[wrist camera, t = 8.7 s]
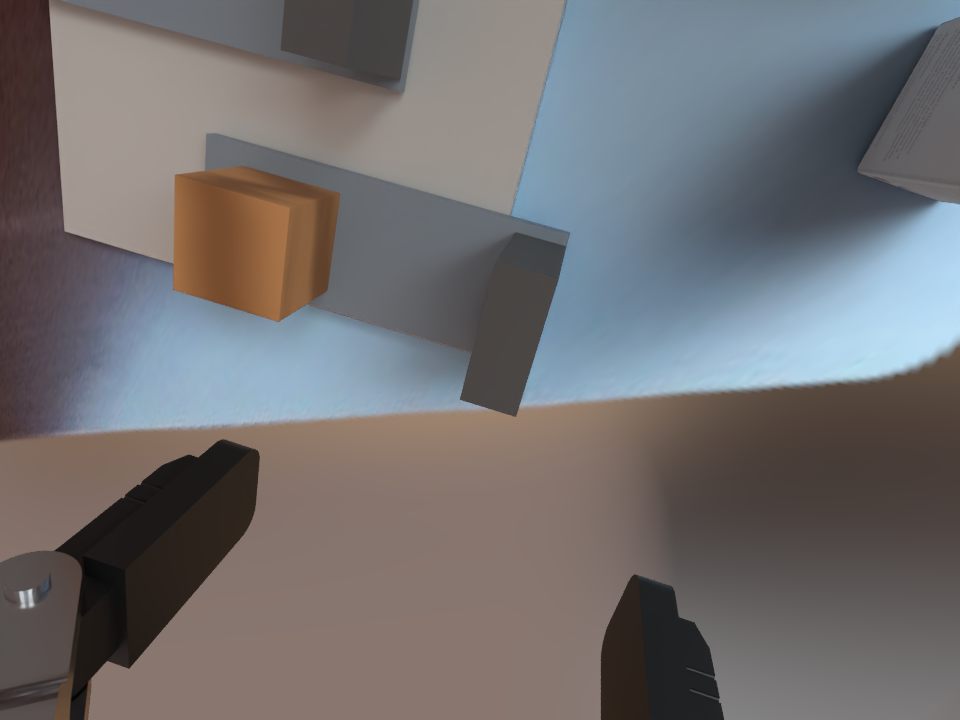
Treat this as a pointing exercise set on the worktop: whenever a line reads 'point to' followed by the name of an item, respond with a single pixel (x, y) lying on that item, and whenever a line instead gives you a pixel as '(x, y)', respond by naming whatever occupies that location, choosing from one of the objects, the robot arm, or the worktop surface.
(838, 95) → the worktop surface
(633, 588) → the robot arm
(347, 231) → the strip with cube
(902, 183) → the skincare box
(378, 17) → the strip empty
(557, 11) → the lane board
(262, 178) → the cube
